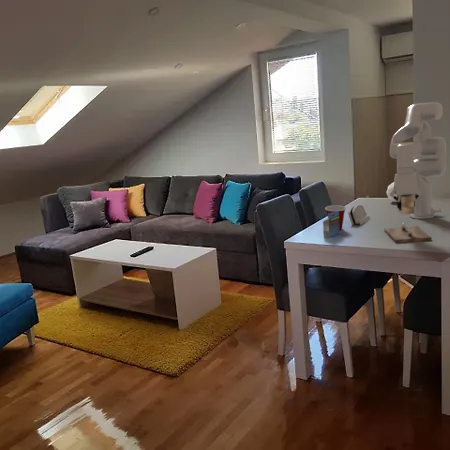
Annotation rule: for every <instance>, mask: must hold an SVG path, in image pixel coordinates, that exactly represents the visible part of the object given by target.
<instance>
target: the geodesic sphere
mask: <svg viewBox="0 0 450 450" xmlns="http://www.w3.org/2000/svg"><path fill="white" fill-rule="evenodd" d="M393 189H394V181H393V182H392V183H390V184H389V185H388V186H387V190H386V196H387V198H388V199H389V200H390V201H392V202H393V203H397V201H396V200H395V199H394V198H393V197H391V196H390V193H391V192H392V191H393ZM394 196H396V197H397V195H396V194H394Z"/></svg>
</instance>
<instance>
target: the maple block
mask: <svg viewBox="0 0 450 450" xmlns="http://www.w3.org/2000/svg"><path fill="white" fill-rule="evenodd" d="M398 212H399V213H400V214H402V215H410V214H414V196H411V195H403V196H401V210H399V209H398Z"/></svg>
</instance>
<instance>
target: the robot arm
mask: <svg viewBox="0 0 450 450" xmlns="http://www.w3.org/2000/svg"><path fill="white" fill-rule="evenodd" d="M443 113H444V108H443V104H441V103H440V102H436V101H435V102H434V101H432V102H420V103H419V102H418V103H414V104H411V105H410V106H408V107H407V108H406V116H405V120H404V126H402V127H401V128H399V129H398V130H397V131H396V132H395V133H394V134H393V135H392V137H391V140H390V145H389V156H390V158H392V159H396V173H395V174H394V179H393V180H394V181H393V182H394V189H393V191H392V192H391V193H390V196H391V197H393V198H394V199H395V200H396V201H397V202H396V203H397V207H396V209H398V211H399V210H401V196H403V195H411V196H414V214H409V217H410V218H412V219H418V220H422V219H423V220H425V219H426V220H427V219H432V218H435V216H436V213H441V212H442V209H441V208H434V207H433V203H432V202H433V201H432V200H433V197H432V196H433V193H432V191H433V188H432V187H433V186H432V183H431V180H430V179H429V178H428V177H442V176H445V174H446V172H447V142H446V139H445V138H444V137H442V136H433V137H432V132H431V131H432V127H431V126H430V124H429V123H428V121H436V120H437V121H438V120H440V119H441V118H442V117H443ZM411 138H413V141H410V142H409V141H406V140H409V139H411ZM425 156H426V158H425ZM427 156H435V157H430V158H429V157H427ZM419 157H421V158H419ZM422 157H424V158H422ZM394 194H396V195H397V197H396V196H394Z"/></svg>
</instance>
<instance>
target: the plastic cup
mask: <svg viewBox="0 0 450 450" xmlns="http://www.w3.org/2000/svg"><path fill="white" fill-rule="evenodd" d="M346 208H347V207H346V206H345V205H337V204H335V205H333V204H332V205H328V206H326V207H325V208H324V209H325V211H326V214H327V219H329V217H328V214H330V213H333V212H336V211H339V231H341V230H343V223H344V219H345V217H344V216H345V212H346ZM332 216H335V214H333V215H332Z"/></svg>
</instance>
